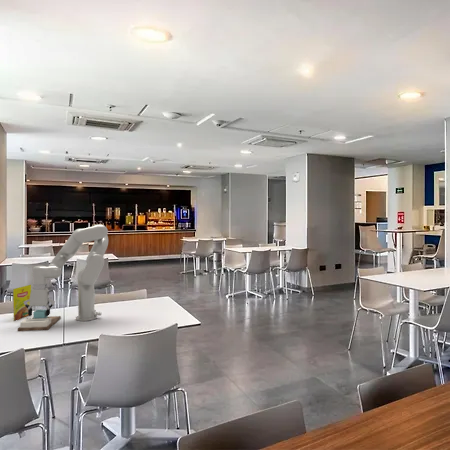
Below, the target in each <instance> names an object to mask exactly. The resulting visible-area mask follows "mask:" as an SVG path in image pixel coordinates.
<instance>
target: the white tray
mask: <svg viewBox="0 0 450 450" xmlns="http://www.w3.org/2000/svg"><path fill="white" fill-rule="evenodd" d="M49 324H51V318H33V317H32V318H31V317H30V318H27V317H26V318H25V319H23V320H22V321H20V325H19V327H20V328H31V327H47V326H48V325H49Z"/></svg>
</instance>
